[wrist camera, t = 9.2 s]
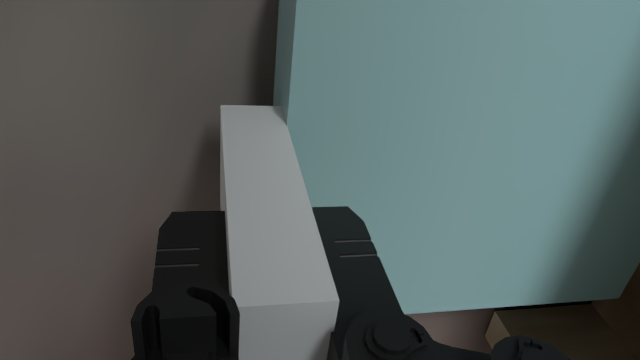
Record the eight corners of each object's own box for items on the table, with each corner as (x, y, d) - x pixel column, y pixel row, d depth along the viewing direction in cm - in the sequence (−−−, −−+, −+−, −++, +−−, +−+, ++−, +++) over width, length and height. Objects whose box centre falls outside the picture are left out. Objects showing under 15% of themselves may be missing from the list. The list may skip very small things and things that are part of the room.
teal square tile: (280, -63, 12) (300, -39, 10) (693, -27, 15) (791, 0, 12) (262, 256, 17) (271, 324, 15) (568, 242, 20) (618, 298, 18)
